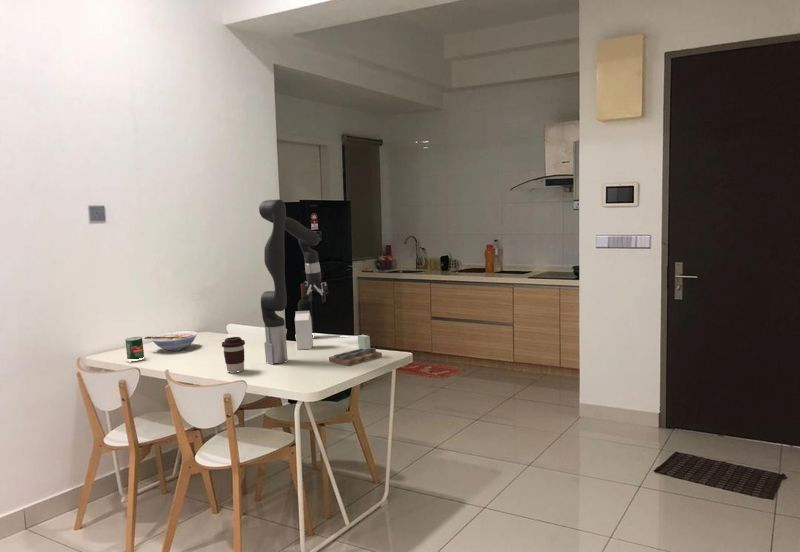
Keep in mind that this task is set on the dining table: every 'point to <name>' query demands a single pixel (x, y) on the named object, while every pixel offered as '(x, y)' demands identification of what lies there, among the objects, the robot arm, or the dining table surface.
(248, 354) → the dining table surface
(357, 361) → the brown flat piece
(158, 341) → the ramen bowl
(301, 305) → the wine bottle
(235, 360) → the coffee cup
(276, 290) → the robot arm
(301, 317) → the milk carton
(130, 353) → the canned tomato
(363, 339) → the fader
